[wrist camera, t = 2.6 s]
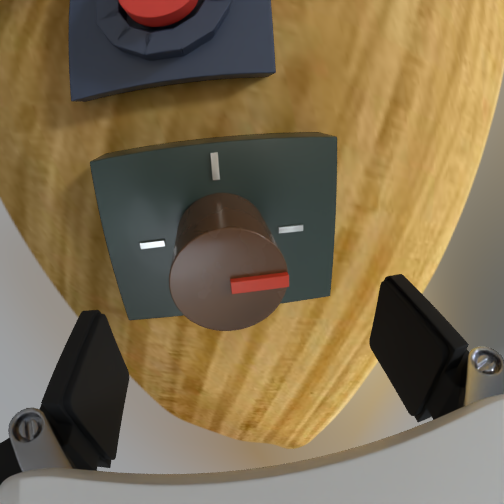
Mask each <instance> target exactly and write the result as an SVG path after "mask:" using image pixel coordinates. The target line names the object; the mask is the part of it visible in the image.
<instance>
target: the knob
mask: <svg viewBox="0 0 504 504" xmlns="http://www.w3.org/2000/svg"><path fill="white" fill-rule="evenodd" d="M287 287H289V274H288V269H287V264H286V261H285V259H284V257H283V255H282V253H281V251H280V249H279V247H278V245H277V243H276V241H275V240H274V238H273V236H272V234H271V232H270V230H269V228H268V226H267V224H266V223H265V221H264V219H263V217H262V215H261V214H260V212H259V210H258V209H257V208H256V207H255V206H254V205H253V204H252V203H251V202H249V201H248V200H247V199H245V198H243V197H241V196H238V195H235V194H230V193H215V194H210V195H207V196H204V197H202V198H200V199H198V200H197V201H195V202H194V203H193V204H192V205H190V206H189V207H188V209H187V210H186V211H185V212H184V214H183V215H182V217H181V219H180V222H179V225H178V230H177V235H176V240H175V245H174V251H173V256H172V262H171V268H170V274H169V289H170V293H171V296H172V299H173V301H174V303H175V305H176V306H177V308H178V309H179V310H180V311H181V313H182V314H183V315H184V316H186V317H187V318H188V319H189V320H191V321H192V322H194V323H196V324H198V325H200V326H202V327H205V328H209V329H213V330H219V331H232V330H239V329H244V328H247V327H250V326H252V325H255V324H257V323H259V322H260V321H262V320H264V319H265V318H267V317H268V316H269V315H270V314H271V313H272V312H273V311H274V310H275V309H276V308H277V307H278V305H279V304H280V302H281V301H282V299H283V297H284V295H285V292H286V289H287Z"/></svg>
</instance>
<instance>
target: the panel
mask: <svg viewBox="0 0 504 504" xmlns="http://www.w3.org/2000/svg"><path fill="white" fill-rule="evenodd" d="M90 166H91V172H92V178H93V183H94V189H95V194H96V199H97V204H98V209H99V213H100V218H101V222H102V227H103V231H104V235H105V239H106V243H107V247H108V251H109V255H110V259H111V263H112V266H113V270H114V273H115V277H116V280H117V284H118V287H119V290H120V294H121V297H122V300H123V303H124V306H125V309H126V313H127V316H128V319H129V320H138V319H150V318H161V317H172V316H182V315H183V314H182V313H181V311H180V310H179V309H178V308H177V306H176V305H175V303H174V301H173V299H172V296H171V293H170V289H169V274H170V268H171V262H172V256H173V251H174V245H175V240H176V235H177V230H178V225H179V222H180V219H181V217H182V215H183V214H184V212H185V211H186V210H187V209H188V207H189V206H190V205H192V204H193V203H194V202H195V201H197V200H198V199H200V198H202V197H204V196H207V195H210V194H215V193H230V194H235V195H238V196H241V197H243V198H245V199H247V200H248V201H249V202H251V203H252V204H253V205H254V206H255V207H256V208H257V209H258V210H259V212H260V214H261V215H262V217H263V219H264V221H265V223H266V224H267V226H268V228H269V230H270V232H271V234H272V236H273V238H274V240H275V241H276V243H277V245H278V247H279V249H280V251H281V253H282V255H283V257H284V259H285V261H286V264H287V269H288V274H289V287H287V289H286V292H285V295H284V297H283V299H282V301H281V302H280V303H287V302H294V301H300V300H307V299H313V298H320V297H326V296H330V290H331V279H332V266H333V252H334V235H335V215H336V186H337V137H336V136H332V135H328V134H323V133H319V132H297V133H270V134H253V135H238V136H226V137H215V138H206V139H196V140H188V141H180V142H172V143H165V144H158V145H152V146H145V147H139V148H133V149H128V150H122V151H117V152H111V153H106V154H104V155H102V156H100V157H98V158H96V159H94V160H92V161H91V162H90Z"/></svg>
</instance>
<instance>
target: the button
mask: <svg viewBox="0 0 504 504" xmlns="http://www.w3.org/2000/svg"><path fill="white" fill-rule="evenodd" d="M118 1H119V3H120V5H121V6H122V8H123V9H124V10H125V11H126V13H127V14H128V15H129V16H130V17H131V18H132V19H133V20H134V21H135V22H137V23H139V24H141V25H144V26H148V27H163V26H168V25H171V24H174V23H176V22H178V21H180V20H182V19H183V18H185V17H186V16H187V15H188V14H190V12H191V11H192V10H193V9H194V8H195V6H196V4H197V2H198V0H118Z"/></svg>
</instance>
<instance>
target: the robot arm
mask: <svg viewBox="0 0 504 504" xmlns="http://www.w3.org/2000/svg"><path fill="white" fill-rule="evenodd" d="M370 347H371V349H372V351H373V353H374V354H375V356H376V358H377V359H378V361H379V363H380V364H381V366H382V368H383V369H384V371H385V373H386V374H387V376H388V378H389V380H390V381H391V383H392V385H393V386H394V388H395V390H396V392H397V393H398V395H399V397H400V398H401V400H402V402H403V404H404V405H405V407H406V409H407V410H408V412H409V414H410V415H411V416H415V418H416V420H417V422H420V421H422V420H425V419H427V418H430V417H431V416H432V418H433V420H432V421H430V422H427V423H424V424H422V425H419V426H417V427H415V428H412V429H410V430H407V431H404V432H401V433H399V434H396V435H393V436H390V437H387V438H384V439H381V440H378V441H375V442H372V443H369V444H366V445H363V446H359V447H355V448H352V449H348V450H345V451H341V452H337V453H333V454H329V455H325V456H321V457H317V458H312V459H308V460H303V461H298V462H293V463H287V464H282V465H276V466H269V467H262V468H256V469H247V470H238V471H228V472H217V473H201V474H134V473H133V474H132V473H115V472H103V471H97V467H106V468H110V465H111V460H114V459H115V458H116V453H117V445H118V439H119V432H120V426H121V420H122V414H123V409H124V403H125V398H126V392H127V387H128V382H129V372H128V369H127V367H126V365H125V362H124V360H123V358H122V355H121V353H120V351H119V348H118V346H117V343H116V341H115V338H114V336H113V333H112V331H111V328H110V326H109V323H108V320H107V318H106V316H105V314H101V312H100V311H99V310H89V311H82V312H81V314H80V316H79V318H78V320H77V322H76V324H75V326H74V328H73V330H72V333H71V335H70V337H69V339H68V341H67V343H66V345H65V348H64V350H63V352H62V354H61V356H60V359H59V361H58V363H57V365H56V368H55V370H54V372H53V375H52V377H51V380H50V382H49V385H48V387H47V390H46V392H45V394H44V397H43V400H42V402H41V403H42V404H41V407H40V410H39V409H36V408H26V409H24V410H21V411H20V412H18V413H17V414H16V415H15V416H14V417H13V418H12V420H11V422H10V424H9V430H8V431H9V437H10V438H8V439H7V440H5V441H3V442H2V443H0V504H504V360H503V358H502V356H501V355H500V354H499V353H498V352H497V351H495V350H494V349H492V348H489V347H484V346H480V347H476V348H474V349H472V350H471V351H470V353H469V351H468V350H467V347H468V343H467V342H466V341H465V340H464V339H463V338H462V337H461V336H460V334H459V333H458V332H457V331H456V330H455V329H454V328H453V327H452V325H451V324H450V323H449V322H448V321H447V320H446V319H445V318H444V317H443V316H442V315H441V314H440V312H439V311H438V310H437V309H435V307H434V306H433V305H432V304H431V303H430V302H429V301H428V300H427V299H426V298H425V297H424V296H423V295H422V294H421V293H420V292H419V291H418V290H417V289H416V288H415V287H414V286H413V285H412V284H411V283H410V282H409V281H408V280H407V279H406V278H405V277H404V276H403V275H402V274H399V275H393V276H387V277H386V278H385V280H384V281H383V282H382V283H381V285H380V291H379V296H378V302H377V307H376V312H375V317H374V322H373V327H372V331H371V336H370Z"/></svg>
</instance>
